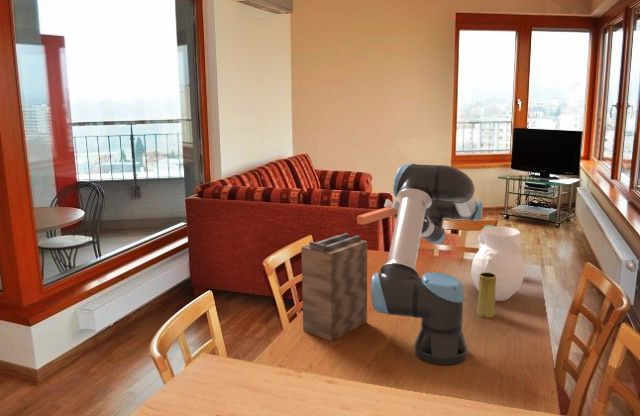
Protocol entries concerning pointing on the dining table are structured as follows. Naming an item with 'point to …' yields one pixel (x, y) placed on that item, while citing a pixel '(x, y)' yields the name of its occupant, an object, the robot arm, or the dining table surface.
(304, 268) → the stand
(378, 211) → the lever bar
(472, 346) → the dining table surface
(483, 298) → the vase
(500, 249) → the pitcher
